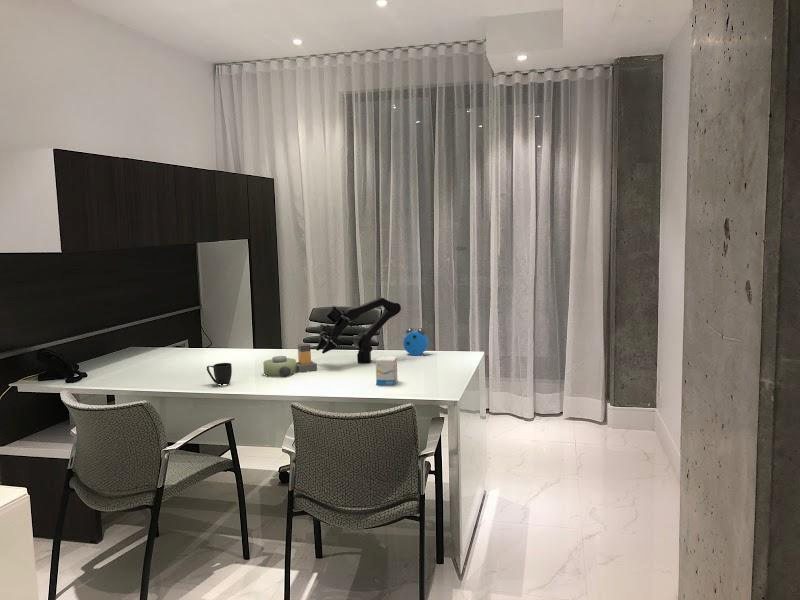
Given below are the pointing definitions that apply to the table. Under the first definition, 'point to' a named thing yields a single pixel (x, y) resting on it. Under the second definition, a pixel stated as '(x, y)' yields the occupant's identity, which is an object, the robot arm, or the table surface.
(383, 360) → the ink box
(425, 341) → the alarm clock
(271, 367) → the mower deck
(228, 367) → the mug
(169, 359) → the table surface
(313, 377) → the table surface
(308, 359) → the orange bottle
